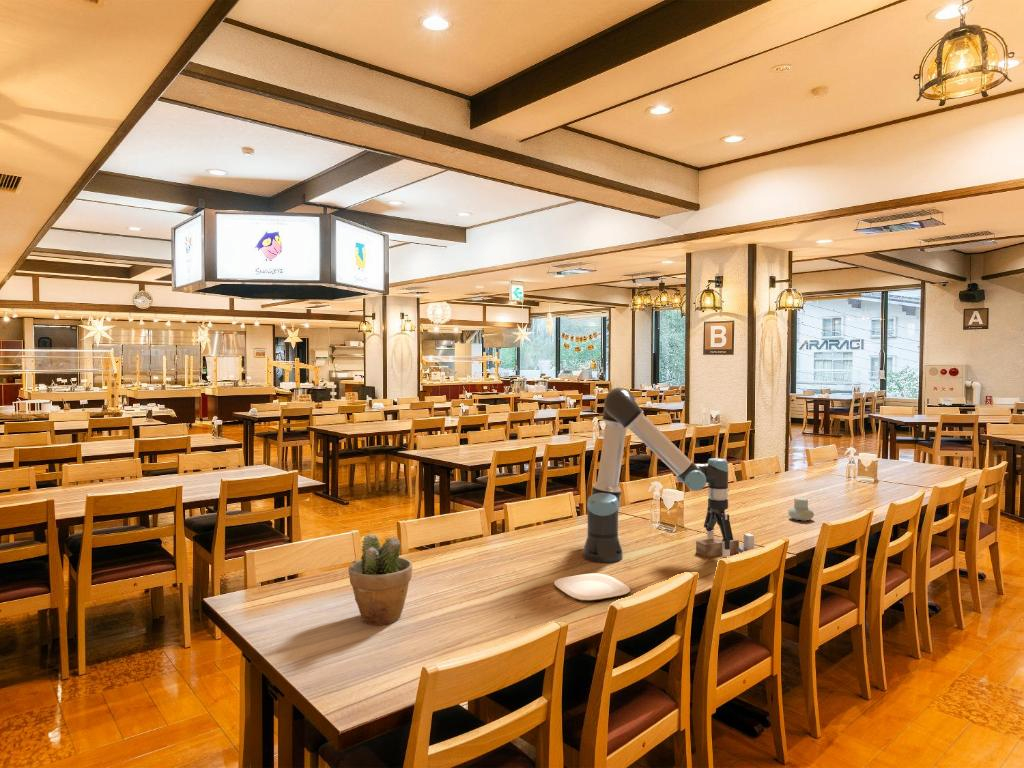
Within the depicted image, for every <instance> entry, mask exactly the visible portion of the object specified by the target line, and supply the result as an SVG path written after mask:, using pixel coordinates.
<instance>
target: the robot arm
mask: <svg viewBox="0 0 1024 768" xmlns="http://www.w3.org/2000/svg"><path fill="white" fill-rule="evenodd" d="M603 405H604V406H603V407H604V408H603V413H602V421H603V422H604V424H605V426H604V433H603V439H602V446H601V452H600V453H601V454H600V458H599V459H600V460H599V467H598V474H597V478H596V482H594V484H592V489H591V494H590V495H589V496H588V498H587V503H586V507H587V537H586V541H585V543H584V546H583V549H582V557H583V558H584V559H586V560H588V561H591V562H595V563H615V562H619V561H621V560H622V559H623V557H624V556H623V555H624V554H623V553H624V552H623V549H622V545H621V542H620V539H619V512H620V511H619V510H620V502H621V495H622V489H621V487H620V485H619V483H620V475H621V469H622V463H623V456H624V450H625V449H624V448H625V443H626V438H627V429H629V430H630V431H631V432H632V433H633V434H634V435H635V436H636V437H637V438H638V439H639V440H640V441H641V442H642V443H644V445H646V447H648V449H650V450H651V452H653V453H654V454H655V456H657V457H658V458H659V459H660V460H661V462H663V464H665V465H666V467H668V468H669V469H670V470H671V471H672V472H673V473H674V474H675V475H676V481H677V482H679V483H683V484H685V486H686V487H687V488H688V489H689V490H691V491H694V492H699V491H701V490H703V489H704V488H705V487H706V485H707V498H708V499H707V508H706V515H705V519H704V523H703V528H705V530H706V540H707V539H715V531H714V530H715V526H716V524H717V525H718V527H719V530H720V533H721V536H722V538H723V539H722V555H721V557H722V558H723V557H727V556H730V557H731V553H730V541H731V540H733V538H734V535H733V532H732V527H731V522H730V514H729V513H725V511H726V510H728V509H729V499H728V498H729V462H728V461H727V459H725V458H719V457H714V458H709V459H708V460H707V463H693V461H692V460H691V459H690V458H689V457H688V456H687V455H685V454H684V453H683V452H682V450H681V449H680V448H678V447H677V446H676V445H675V444H674V443H673V442H672V441H671V439H669V438H668V437H667V436H666V435H665V434H664V433H663V432H662V431H661V430H660V429H659V428H658V427H657V426H656V425H655V424H654V423H653V422H652V421H651V420H650V419H649V418H648V417H647V416H645V414H644V410H643V408H641V407H640V405H639V404H638V403H637V401H636V400H635V396H634V394H633V393H632V392H631V391H630V390H629V389H627V388H623V387H615V388H612V389H610V391H608V392H607V394H606V396H605V397H604V403H603Z"/></svg>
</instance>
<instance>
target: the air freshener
mask: <svg viewBox="0 0 1024 768" xmlns="http://www.w3.org/2000/svg"><path fill="white" fill-rule="evenodd" d="M793 500H794V501H793V502H794V504H793V506H791V508H789V509H788V516H789V517H790V518H791V519H793V520H796V521H798V520H801V521H800V522H808V521H810V520H812V519H813V518H814V511H813V510H812V509H811V508H809V500H808V498H805V497H794V499H793ZM807 520H808V521H807Z"/></svg>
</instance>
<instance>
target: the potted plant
mask: <svg viewBox="0 0 1024 768" xmlns="http://www.w3.org/2000/svg"><path fill="white" fill-rule="evenodd" d="M361 543H362V546H361V551H362V554H361V557H360V560H356V561H354V562H353V563H351V564H350V565H349V567H348V575H349V576H348V577H349V583H350V585H351V586H352V591H353V595H354V600H355V602H356V605H357V608H358V611H359V613H360V617H361V618H360V619H361V621H362V622H363V623H364V624H366V625H370V626H385V625H390V624H393V623H395V622H397V621H398V620H400V618H401V616H402V613H403V610H404V607H405V603H406V599H407V594H408V591H409V584H410V581H411V580H412V573H413V562H412V561H411V560H409V559H408V558H407V559H406V558H404V557H400V551H401V547H402V545H401V542H400V539H399V538H397V537H388V538H386V539H385V542H384V543H383V544H382V545H380V544H381V543H380V541H379V538H378V536H377V535H376V534H367V535H365V536H364V538H363V540H362V541H361Z"/></svg>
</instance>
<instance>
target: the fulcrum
mask: <svg viewBox="0 0 1024 768" xmlns="http://www.w3.org/2000/svg"><path fill="white" fill-rule="evenodd" d="M753 548H757V547H756V546H755V535H753V534H751V533H743V545H739V552H741V553H742V552H743V551H747V550H750V549H753Z"/></svg>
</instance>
